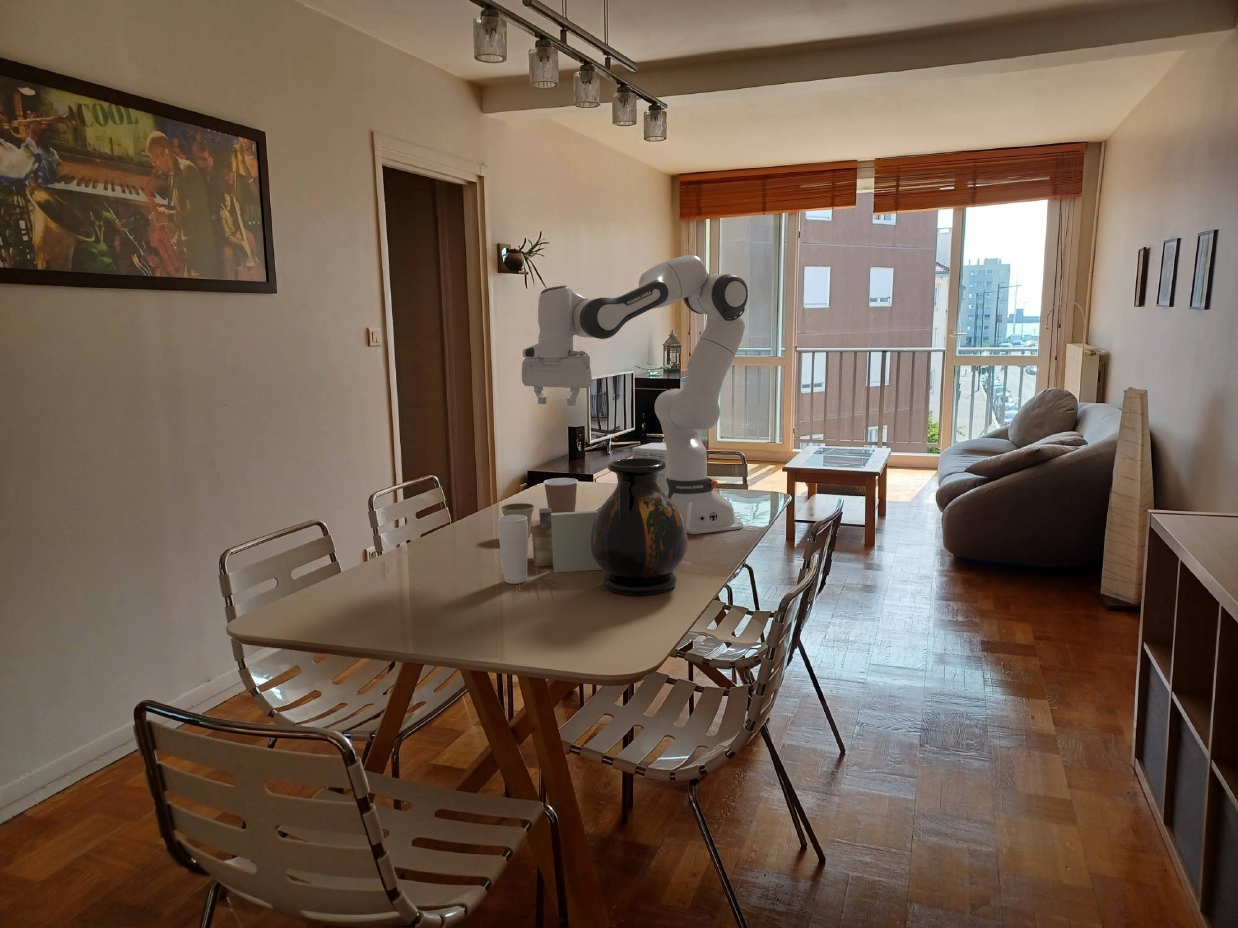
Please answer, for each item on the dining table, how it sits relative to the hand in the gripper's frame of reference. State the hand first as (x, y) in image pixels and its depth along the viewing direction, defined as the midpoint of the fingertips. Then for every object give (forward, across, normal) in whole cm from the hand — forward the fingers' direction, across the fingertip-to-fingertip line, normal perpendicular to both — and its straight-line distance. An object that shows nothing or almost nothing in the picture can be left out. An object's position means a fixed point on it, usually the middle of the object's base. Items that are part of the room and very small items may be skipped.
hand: (556, 404), depth 220 cm
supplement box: (+36, +8, -67) cm, 76 cm away
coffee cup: (+38, +18, -26) cm, 49 cm away
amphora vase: (+38, -36, +18) cm, 56 cm away
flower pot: (+38, +17, -4) cm, 42 cm away
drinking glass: (+38, -9, +28) cm, 49 cm away
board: (+38, -17, +11) cm, 43 cm away
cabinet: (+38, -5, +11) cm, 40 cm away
